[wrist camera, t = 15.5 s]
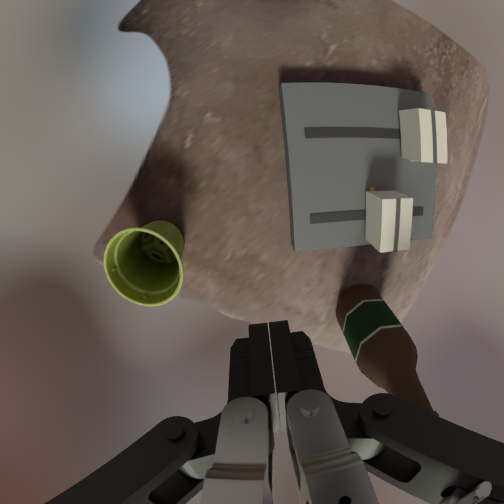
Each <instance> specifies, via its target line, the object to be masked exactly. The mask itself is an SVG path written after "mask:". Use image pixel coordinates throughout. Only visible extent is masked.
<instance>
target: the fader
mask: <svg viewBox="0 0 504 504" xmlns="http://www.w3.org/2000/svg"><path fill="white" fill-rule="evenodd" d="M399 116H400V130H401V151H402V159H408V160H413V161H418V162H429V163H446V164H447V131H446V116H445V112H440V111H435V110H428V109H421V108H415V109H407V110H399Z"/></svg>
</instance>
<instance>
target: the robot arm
mask: <svg viewBox="0 0 504 504" xmlns="http://www.w3.org/2000/svg"><path fill="white" fill-rule="evenodd" d="M269 329H270V338H271V347H272V357H273V364H274V373H275V382H276V390H277V399H278V408H279V417H280V426H281V431H287V435H288V443H289V452H290V457H291V461H292V465H293V470H294V474H295V479H296V483H297V488H298V493H299V500H300V504H379V502H378V499H377V497H376V494H375V491H374V489H373V486H372V483H371V481H370V478H369V476H368V473H367V471H368V472H370V473H372V474H374V475H375V476H377V477H379V478H381V479H382V480H384V481H386V482H388V483H390V484H392V485H394V486H396V487H397V488H399V489H401V490H403V491H405V492H407V493H409V494H411V495H413V496H416V497H418V498H420V499H422V500H424V501H426V502H429V503H431V504H504V443H502V442H499V441H496V440H494V439H491V438H488V437H486V436H483V435H481V434H478V433H476V432H473V431H471V430H468V429H466V428H464V427H461V426H459V425H456V424H454V423H452V422H449V421H447V420H445V419H443V418H440V417H438V416H436V415H434V414H432V413H429V412H427V411H425V410H423V409H421V408H419V407H416V406H414V405H412V404H410V403H408V402H406V401H404V400H402V399H400V398H398V397H396V396H393V395H391V394H386V393H379V394H374V395H372V396H370V397H368V398H367V399H366V400H365V401H364V402H363V403H346V402H341V401H338V400H335V399H334V398H332V397H331V396H329V395H328V393H327V392H326V390H325V388H324V385H323V381H322V378H321V374H320V371H319V368H318V364H317V360H316V357H315V354H314V351H313V347H312V343H311V340H310V338H309V337H308V336H307V335H306V334H305V333H304V332H303V331H300V332H292V333H290V330H289V325H288V321H287V320H285V321H277V322H269ZM273 432H279V425H278V415H277V406H276V397H275V388H274V378H273V369H272V360H271V352H270V343H269V334H268V325H267V323H260V324H251V325H249V338H241V339H236V340H235V342H234V344H233V345H232V347H231V351H230V369H229V391H228V402H227V405H226V406H225V407H224V408H223V410H222V412H221V413H219V414H218V415H217V416H215V417H213V418H210V419H207V420H203V421H200V422H196V423H193V422H192V421H191V420H190V419H188V418H185V417H180V416H174V417H169V418H166V419H164V420H163V421H161V422H160V423H159V424H157V425H156V426H155V427H154V428H152V429H151V430H150V431H149V432H147V433H146V434H145V435H144V436H142V437H141V438H140V439H138V440H137V441H136V442H134V443H133V444H132V445H130V446H129V447H128V448H126V449H125V450H124V451H122V452H121V453H120V454H118V455H117V456H116V457H114V458H113V459H111V460H110V461H109V462H107V463H106V464H105V465H103V466H102V467H100V468H99V469H97V470H96V471H94V472H93V473H92V474H90V475H89V476H87V477H86V478H84V479H83V480H82V481H80V482H78V483H77V484H75V485H74V486H72V487H71V488H69V489H67V490H66V491H64V492H63V493H61V494H60V495H58V496H56V497H55V498H53V499H51V500H50V501H48V502H46V503H45V504H186V503H187V502H188V501H189V500H190V499H191V498H193V497H194V496H195V495H196V494H197V493H198V492H199V491H200V490H201V489H203V490H202V496H201V502H200V504H273V460H274V456H273V455H274V451H273V450H274V445H275V444H274V433H273ZM366 470H367V471H366Z"/></svg>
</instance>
